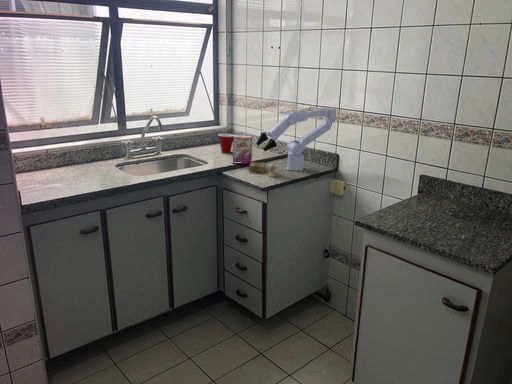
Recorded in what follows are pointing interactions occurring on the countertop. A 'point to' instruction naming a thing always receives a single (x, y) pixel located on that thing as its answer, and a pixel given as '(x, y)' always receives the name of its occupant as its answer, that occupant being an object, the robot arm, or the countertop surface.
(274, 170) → the maple block
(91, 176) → the countertop surface
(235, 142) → the candy bar box
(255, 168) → the walnut block
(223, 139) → the plastic cup
